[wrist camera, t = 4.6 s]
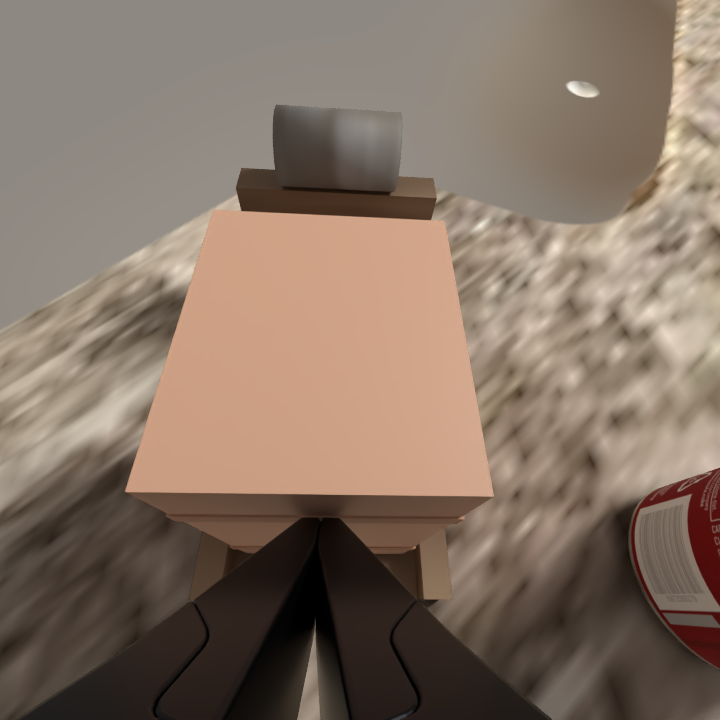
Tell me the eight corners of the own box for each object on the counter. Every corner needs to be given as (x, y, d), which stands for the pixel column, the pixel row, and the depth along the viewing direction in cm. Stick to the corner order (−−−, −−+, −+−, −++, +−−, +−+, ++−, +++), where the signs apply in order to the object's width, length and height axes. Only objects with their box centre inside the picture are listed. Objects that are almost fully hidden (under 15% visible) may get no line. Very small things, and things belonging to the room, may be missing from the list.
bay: (440, 599, 15) (569, 601, 7) (204, 599, 14) (35, 601, 6) (409, 268, 24) (447, 101, 16) (265, 262, 24) (229, 87, 16)
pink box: (404, 555, 15) (497, 499, 6) (244, 554, 15) (120, 495, 6) (395, 391, 19) (446, 219, 10) (268, 388, 18) (211, 208, 10)
